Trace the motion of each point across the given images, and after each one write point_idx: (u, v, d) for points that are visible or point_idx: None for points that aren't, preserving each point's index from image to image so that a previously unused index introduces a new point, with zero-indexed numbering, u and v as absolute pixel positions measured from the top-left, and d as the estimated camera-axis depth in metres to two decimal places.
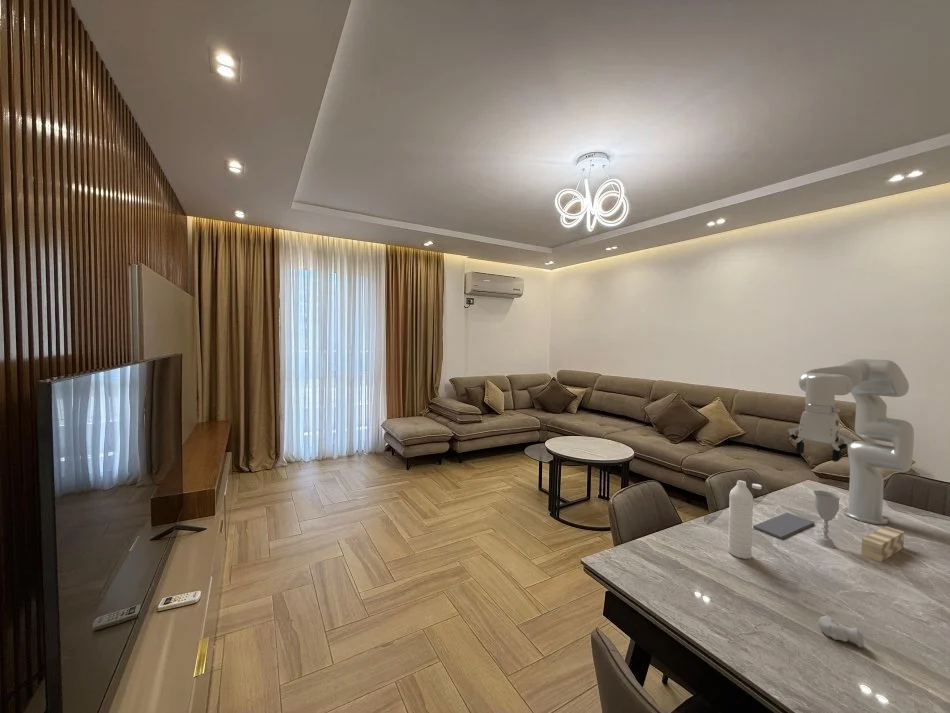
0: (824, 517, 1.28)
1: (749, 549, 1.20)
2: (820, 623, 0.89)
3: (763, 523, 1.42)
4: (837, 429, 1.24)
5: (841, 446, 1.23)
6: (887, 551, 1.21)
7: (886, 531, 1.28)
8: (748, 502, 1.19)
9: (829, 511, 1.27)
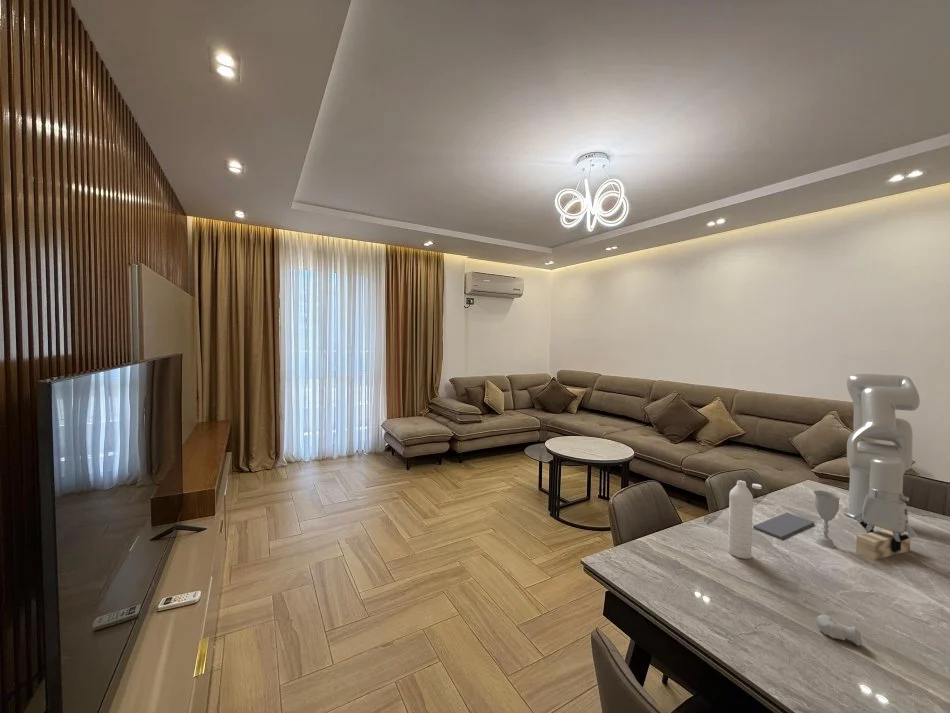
0: (824, 517, 1.28)
1: (749, 549, 1.20)
2: (818, 622, 0.90)
3: (763, 523, 1.42)
4: (906, 518, 1.20)
5: (902, 537, 1.21)
6: (884, 550, 1.22)
7: (890, 531, 1.27)
8: (748, 502, 1.19)
9: (829, 511, 1.27)
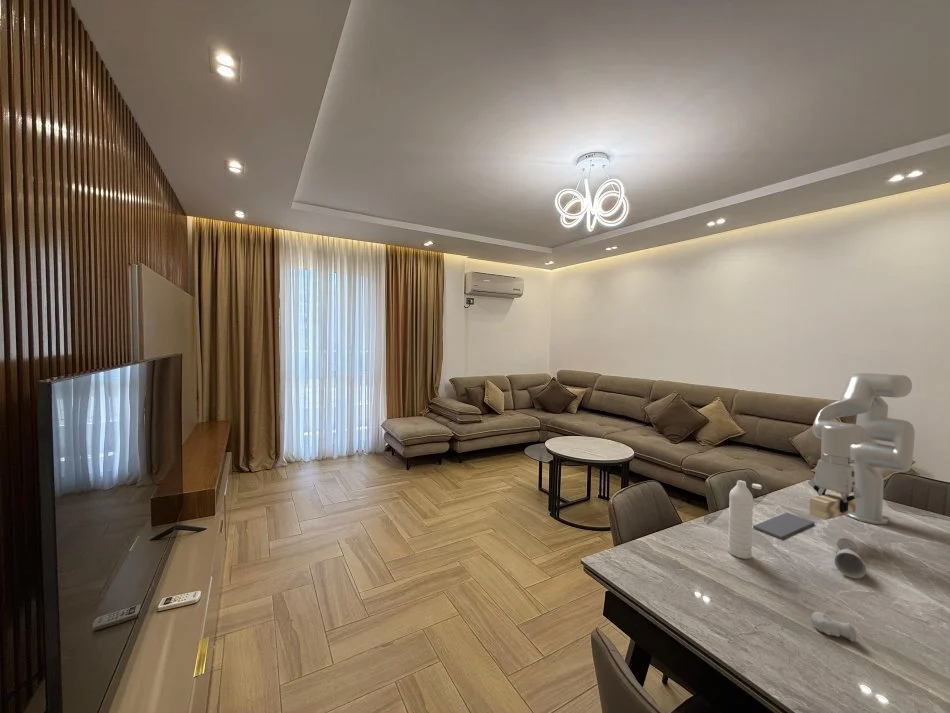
0: None
1: (749, 549, 1.20)
2: (813, 619, 0.90)
3: (763, 523, 1.42)
4: (852, 480, 1.27)
5: (848, 498, 1.27)
6: (834, 510, 1.28)
7: (838, 494, 1.34)
8: (748, 502, 1.19)
9: (837, 553, 1.16)
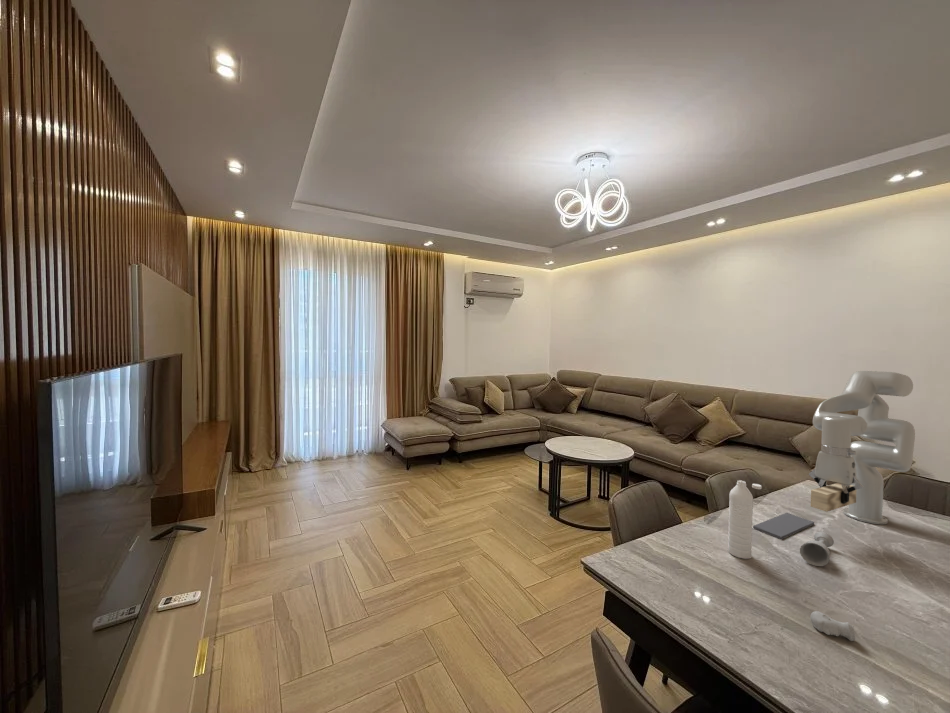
0: None
1: (749, 549, 1.20)
2: (812, 619, 0.91)
3: (763, 523, 1.42)
4: (853, 471, 1.27)
5: (849, 489, 1.28)
6: (835, 502, 1.28)
7: (839, 485, 1.34)
8: (748, 502, 1.19)
9: None
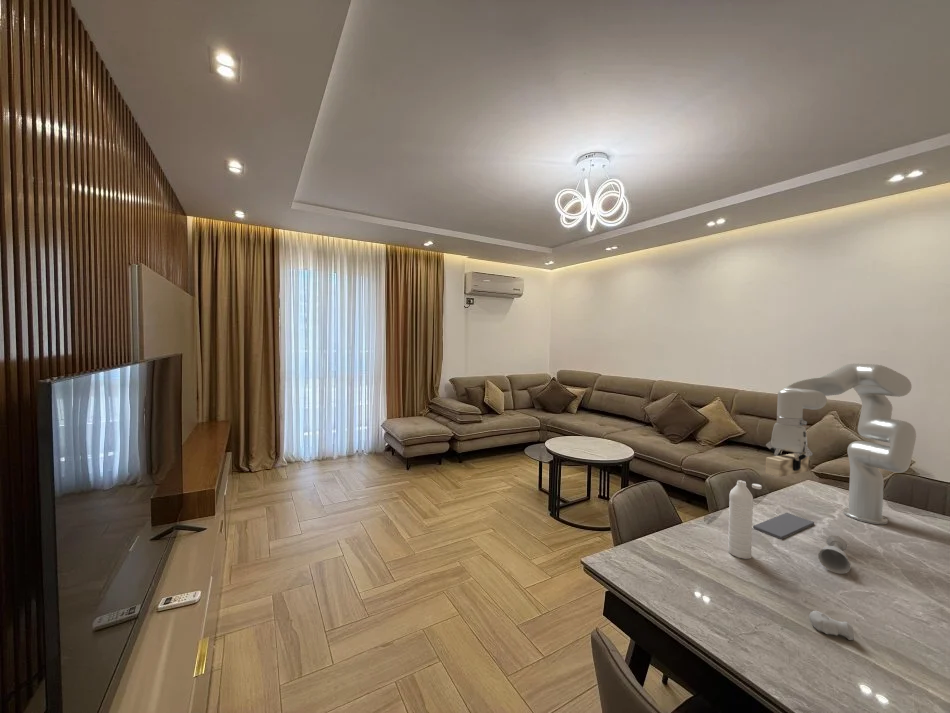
0: None
1: (749, 549, 1.20)
2: (811, 618, 0.91)
3: (763, 523, 1.42)
4: (804, 440, 1.36)
5: (800, 457, 1.37)
6: (787, 468, 1.37)
7: (793, 455, 1.44)
8: (748, 502, 1.19)
9: None
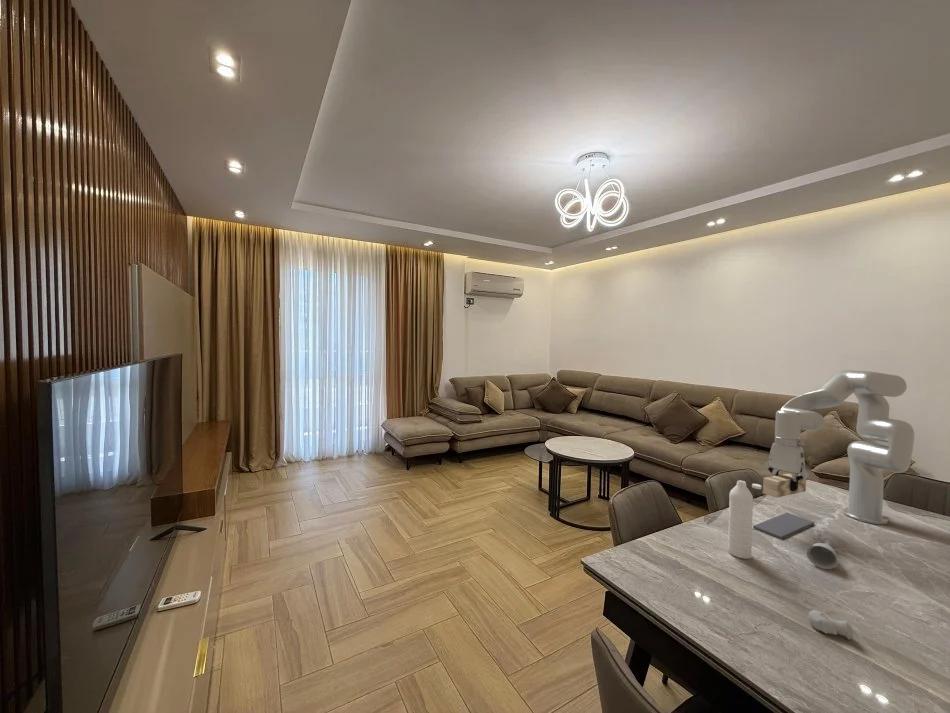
0: None
1: (749, 549, 1.20)
2: (810, 618, 0.91)
3: (763, 523, 1.42)
4: (801, 461, 1.37)
5: (798, 477, 1.37)
6: (785, 489, 1.38)
7: (790, 475, 1.44)
8: (748, 502, 1.19)
9: None
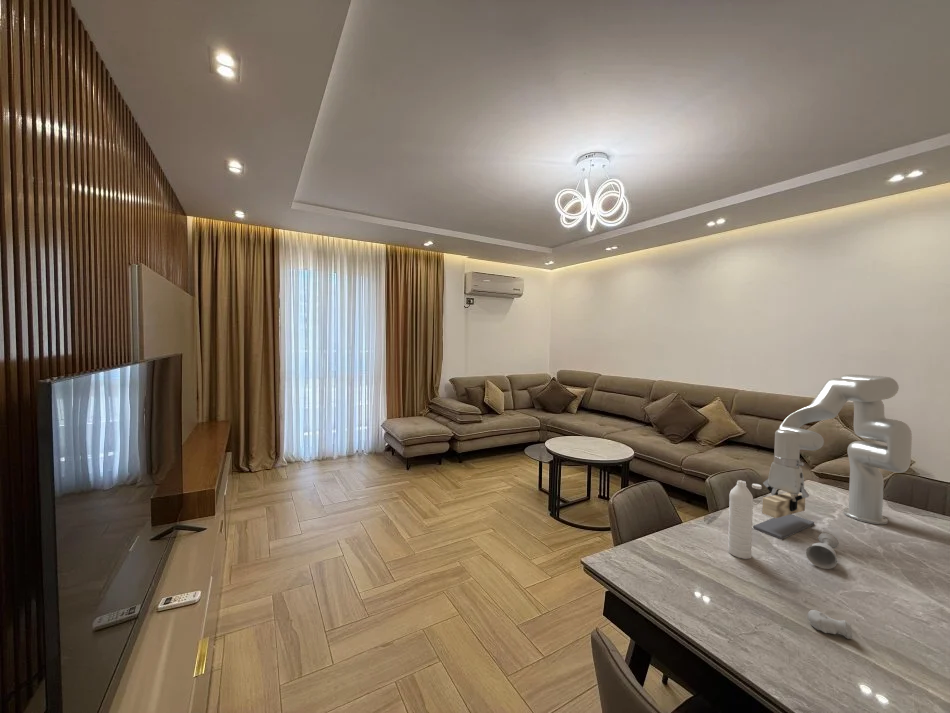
0: None
1: (749, 549, 1.20)
2: (810, 617, 0.91)
3: (763, 523, 1.42)
4: (801, 481, 1.37)
5: (797, 498, 1.38)
6: (784, 509, 1.38)
7: (790, 494, 1.44)
8: (748, 502, 1.19)
9: None
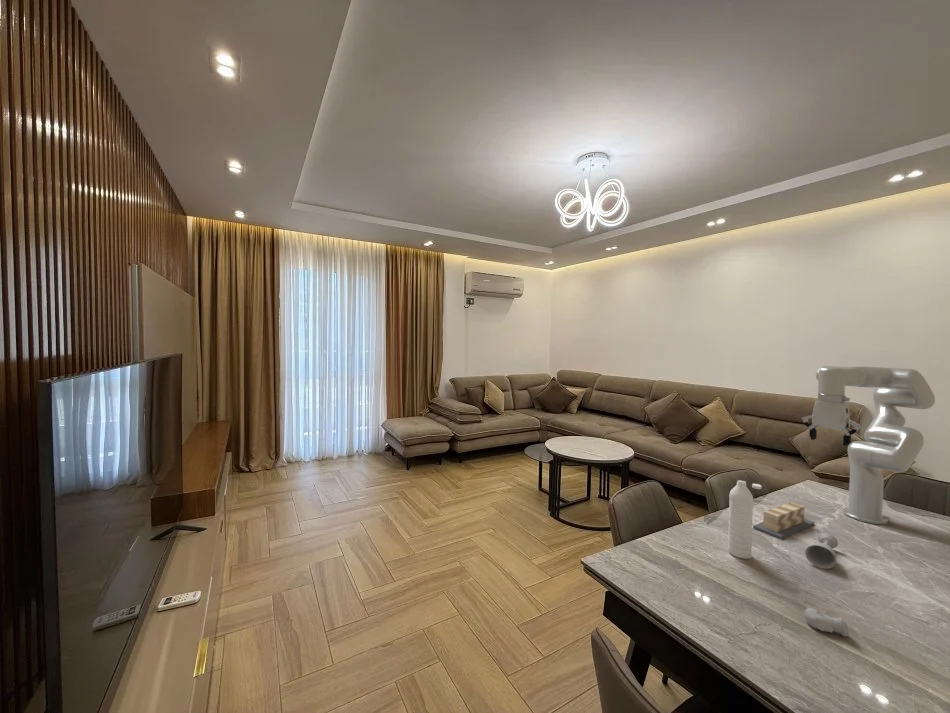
0: None
1: (749, 549, 1.20)
2: (807, 616, 0.91)
3: None
4: (847, 416, 1.37)
5: (851, 431, 1.36)
6: (785, 522, 1.38)
7: (789, 506, 1.45)
8: (748, 502, 1.19)
9: None
